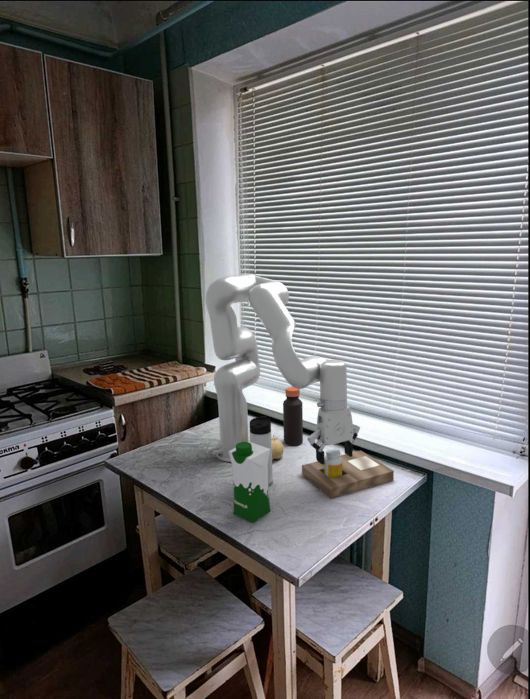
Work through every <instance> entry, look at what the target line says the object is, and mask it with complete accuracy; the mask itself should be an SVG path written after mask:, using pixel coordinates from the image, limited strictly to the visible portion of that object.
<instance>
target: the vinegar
mask: <svg viewBox="0 0 530 699" xmlns="http://www.w3.org/2000/svg"><path fill="white" fill-rule="evenodd" d="M284 391H285V397H286V398H285V400H284V401H283V402H282V403H283V404H282V412H283V413H282V414H283V415H282V417H283V418H282V419H283V443H284V444H285V445H286V446H291V447H297V446H300V445H302V444H303V442H304V434H303V432H304V430H303V429H304V428H303V426H304V425H303V424H304V422H303V421H304V420H303V413H304V412H303V401H302V400H301V399H300V398H299V397H300V391H301V389H297V388H294V387H293V386H288V387H286V388H285V390H284Z"/></svg>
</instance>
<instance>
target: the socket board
mask: <svg viewBox="0 0 530 699" xmlns="http://www.w3.org/2000/svg"><path fill="white" fill-rule="evenodd" d="M352 454H353V456H352V457H350V456H348V455H347V454H345V453H344V454H340V457H341V459H342V476H338V477H334V478H331V479H330V478H328V477H327V476H326V475H324V464H323V465H322V464H321V463H319V462H318V461H317V460H316V461H314V462H310V463H305V464H302V465H301V475H303V477H305V478H306V479H307V480H308V481H309V482H310V483H311V484H313V485H314V486H315V487H316V488H317V489H319V490H320V491H321V492H322V493H323V494H324V495H325V496H327V497H328V498H329V499H330V500H332V499H335V498H338V497H341V495H342V496H344V494H345V495H348V494H352V493H355V492H359V491H362V490H365V489H368V488H372V487H375V486H378V485H381V484H385V483H388V482H392V481H394V472H395V471H394V470H393V469H392V468H390V467H388V466H386V464H384V463H383V462H380V461H379V460H377V459H375V458H374V457H372V456H371V455H369V454H367V453H365V452H364V451H362V449H361V450H357V451H353V452H352Z"/></svg>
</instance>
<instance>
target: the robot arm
mask: <svg viewBox="0 0 530 699" xmlns="http://www.w3.org/2000/svg"><path fill="white" fill-rule="evenodd" d="M205 293H206V294H205V304H206V305H205V306H206V309H207V314H208V316H209V322H210V329H211V336H212V344H213V350H214V354H215V356H216V357H217V358H218V359H219V360H221V361H230V360H234V359H235V360H234V361H233V362H230V363H226V364H224V365H222V366H221V367H219V368H218V369H217V370H216V371H215V373H214V375H213V384H214V387H215V391H216V396H217V405H218V421H219V422H218V424H219V441H217V444H216V445H214V446H208V447H206V454H212V455H214V456H216V458H217V459H219V461H220V460H221V461H224V462H228V463H231V459H230V455H229V451H230V450H232V449H234V448H236V445H237V444H238V443H241V442H250V439H249V422H248V420H249V418H248V417H249V416H248V402H247V400H246V396H245V395H244V392H243V390H244V389H246V388H248V387H250V386H253V385H254V384H255V383H257V382H258V380H259V379H260V376H261V366H260V359H259V350H258V344H257V342H258V341H257V339H256V336H255V334H254V333H253V331H252V330H251V329H250V328H248V327H245V326H238V318H237V315H236V313H235V310H234V309H233V308H232V306H231V305H232V304H236V303H243V302H248V303H249V304H250V306H251V308H252V309H253V310H254V312H255V314H256V315H257V317H258V319H259V320H260V322H261V324H262V325H263V326H264V328H265V330H266V331H267V333H268V335H269V337H270V339H271V349H272V355H273V356H272V357H273V360H274V363H275V364H276V367H277V368H278V370H279V372H280V373H281V375H282V376H283V378H284V380H285V381H286V382H287V383H288V384H289V385H290V387H294V388H297V389H300V390H301V389H306V388H308V387H309V386H311V385H314V384H315V383H319V390H320V391H319V393H320V394H319V395H320V396H319V402H316V406H317V408H318V413H317V419H316V430H314V432H313V433H311V435H309V436H308V437H307V441H308V443H309V444H310V446H311V447H313V448H314V449H315V458H316V462H317V461H318V462H319V463H321V464H322V465H323V464H324V463H325V459H324V458H325V451H324V448H325V447H326V446H332V445H337V444H340V443H344V444H343V446H344V448H343V449H344V450H343V452H344V454H347V455H348V456H350V457H352V456H353V454H352V452H354V444H355V441H356V440H357V437H358V436H359V435H358V434H359V432H360V430H361V426H359V425H357V424H353V416H352V411H351V407H350V406H349V405H348V383H347V382H348V380H347V379H348V378H347V377H348V375H347V373H348V372H347V371H348V369H347V364H346V362H345V361H344V360H341V359H327V358H324V357H320V356H316V355H315V356H313V355H312V356H308V357H305V358H303V359H300V358H299V356H298V354H297V353H296V351H295V349H294V346H293V341H292V340H293V339H292V338H293V333H294V330H295V328H296V326H297V325H296V321H295V319H294V318H293V316H292V314H291V313H290V311H289V310H288V308H287V307H286V304H288V302H289V299H290V294H289V293H290V292H289V291H288V288H287V286H286V285H284V284H283V283H282V282H280V281H278V280H273V279H271V278H267V277H263V276H262V277H261V276H259V275H254V274H249V273H245V274H236V275H228V276H223V277H220V278H219V277H218V278H217V279H215V280H213V282H211V284H210V285H209V286H208V287H207V290H206V292H205ZM316 439H317V441H315V440H316Z"/></svg>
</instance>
